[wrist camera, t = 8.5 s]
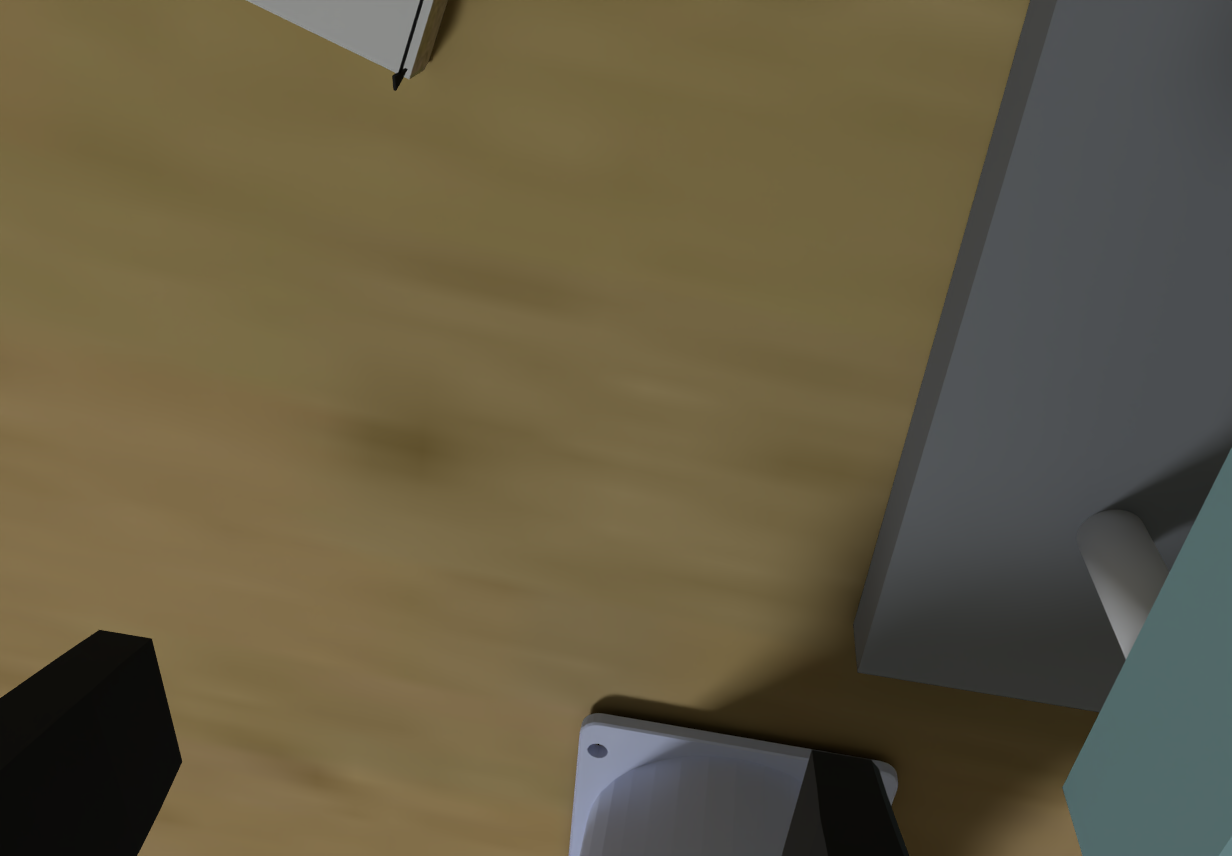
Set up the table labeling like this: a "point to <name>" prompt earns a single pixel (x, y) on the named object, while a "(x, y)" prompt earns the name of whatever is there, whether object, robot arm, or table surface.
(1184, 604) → the teal rectangular block
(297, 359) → the table surface
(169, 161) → the table surface
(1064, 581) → the peg stand
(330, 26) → the white ridged flat slab
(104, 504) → the table surface
